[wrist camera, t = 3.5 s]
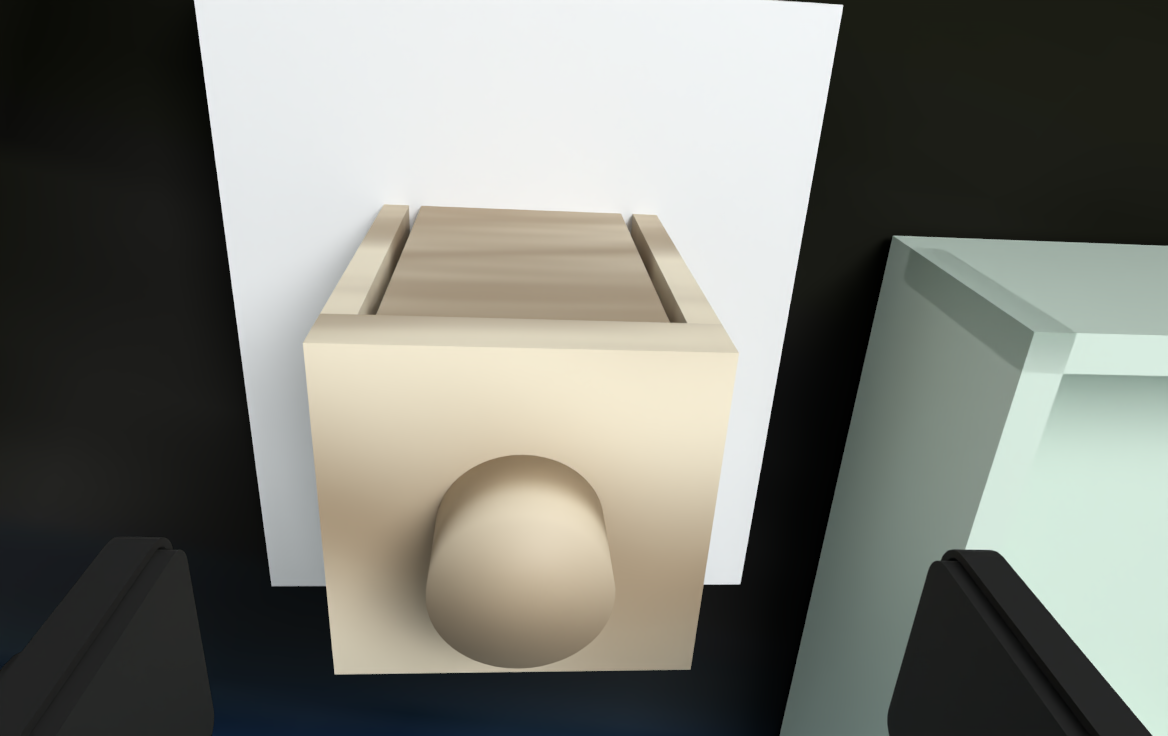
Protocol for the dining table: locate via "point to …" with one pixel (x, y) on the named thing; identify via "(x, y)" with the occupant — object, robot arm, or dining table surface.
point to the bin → (1000, 465)
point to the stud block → (508, 175)
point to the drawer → (516, 443)
